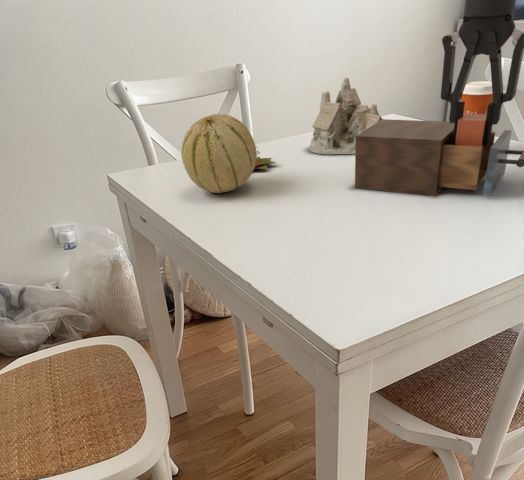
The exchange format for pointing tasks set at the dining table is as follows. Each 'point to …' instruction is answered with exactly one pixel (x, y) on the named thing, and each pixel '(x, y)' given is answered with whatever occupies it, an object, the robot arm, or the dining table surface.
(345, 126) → the ceramic cottage
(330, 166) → the dining table surface
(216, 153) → the cantaloupe
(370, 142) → the cabinet
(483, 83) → the paper cup
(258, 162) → the lily flower
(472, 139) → the block
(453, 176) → the drawer
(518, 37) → the robot arm
